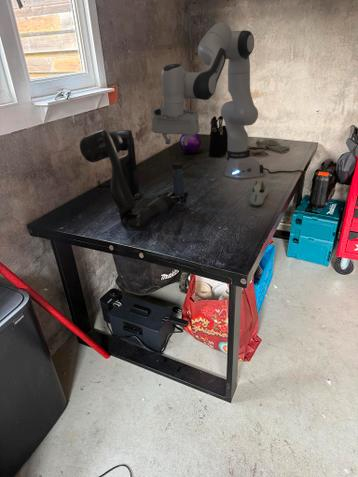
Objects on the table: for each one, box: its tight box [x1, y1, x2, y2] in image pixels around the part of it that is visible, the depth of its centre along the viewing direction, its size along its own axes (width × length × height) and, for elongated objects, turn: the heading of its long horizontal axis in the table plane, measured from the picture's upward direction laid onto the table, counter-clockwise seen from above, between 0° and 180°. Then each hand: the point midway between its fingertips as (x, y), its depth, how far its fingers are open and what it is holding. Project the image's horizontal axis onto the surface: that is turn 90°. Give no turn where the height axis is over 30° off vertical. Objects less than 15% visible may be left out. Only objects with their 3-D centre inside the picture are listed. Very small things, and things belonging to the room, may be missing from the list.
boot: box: [209, 115, 219, 139], centre depth 247 cm, size 9×24×20 cm, turn 168°
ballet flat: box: [249, 179, 269, 207], centre depth 158 cm, size 8×24×8 cm, turn 163°
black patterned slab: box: [208, 115, 228, 158], centre depth 222 cm, size 21×9×25 cm, turn 148°
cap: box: [172, 161, 183, 170], centre depth 144 cm, size 4×4×2 cm
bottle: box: [172, 169, 186, 212], centre depth 149 cm, size 4×4×21 cm
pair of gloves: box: [247, 138, 291, 157], centre depth 228 cm, size 30×26×5 cm
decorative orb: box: [178, 134, 202, 154], centre depth 230 cm, size 15×15×15 cm
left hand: (182, 193), depth 152 cm, fingers closed on bottle, 4 cm apart
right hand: (176, 144), depth 139 cm, fingers open, 7 cm apart
